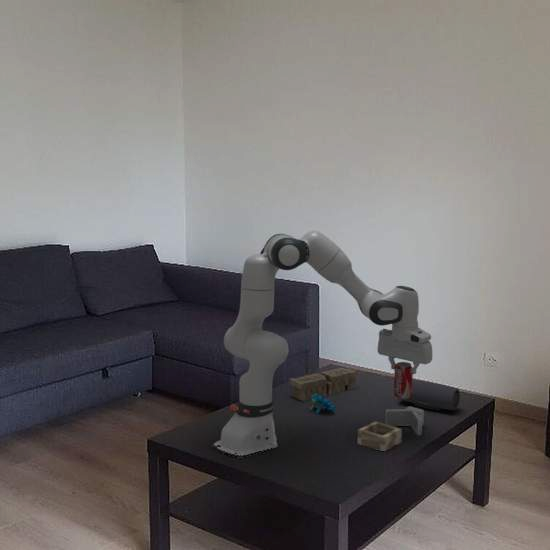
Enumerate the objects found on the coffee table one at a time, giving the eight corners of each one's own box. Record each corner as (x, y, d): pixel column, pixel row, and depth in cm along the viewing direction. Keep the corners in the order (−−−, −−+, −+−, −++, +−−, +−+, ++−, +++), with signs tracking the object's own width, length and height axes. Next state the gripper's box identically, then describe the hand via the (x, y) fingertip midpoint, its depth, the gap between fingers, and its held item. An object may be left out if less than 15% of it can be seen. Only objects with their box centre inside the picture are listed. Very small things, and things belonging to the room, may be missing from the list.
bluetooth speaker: (459, 409, 279) (461, 384, 277) (451, 416, 271) (452, 390, 269) (404, 398, 291) (405, 374, 289) (395, 404, 283) (395, 380, 282)
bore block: (384, 452, 239) (384, 437, 238) (357, 443, 246) (357, 429, 245) (401, 442, 247) (401, 428, 246) (375, 434, 253) (375, 421, 253)
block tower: (343, 386, 309) (288, 397, 292) (344, 366, 308) (289, 377, 291) (356, 391, 303) (301, 402, 286) (356, 371, 302) (301, 382, 284)
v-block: (419, 437, 251) (420, 420, 250) (383, 426, 261) (384, 410, 260) (434, 429, 259) (434, 413, 258) (398, 418, 268) (399, 403, 267)
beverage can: (412, 400, 251) (413, 367, 249) (393, 399, 252) (394, 366, 250) (412, 394, 257) (412, 361, 255) (394, 393, 258) (394, 361, 256)
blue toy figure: (341, 409, 273) (324, 394, 269) (333, 422, 271) (316, 407, 267) (323, 404, 283) (307, 390, 278) (315, 417, 281) (299, 403, 276)
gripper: (374, 329, 255) (373, 367, 257) (425, 339, 241) (424, 379, 244) (384, 326, 259) (383, 363, 262) (435, 335, 246) (433, 375, 248)
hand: (403, 371), depth 253 cm, fingers closed on beverage can, 6 cm apart
